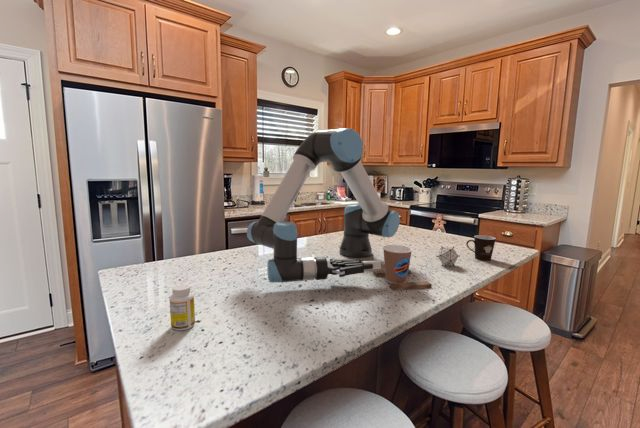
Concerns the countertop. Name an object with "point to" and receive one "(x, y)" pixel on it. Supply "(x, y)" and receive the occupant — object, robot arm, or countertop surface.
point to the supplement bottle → (182, 308)
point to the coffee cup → (396, 263)
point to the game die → (448, 256)
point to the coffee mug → (483, 247)
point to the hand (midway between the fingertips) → (379, 264)
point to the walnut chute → (404, 285)
